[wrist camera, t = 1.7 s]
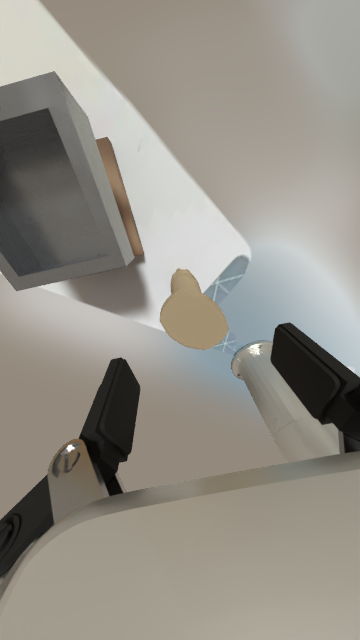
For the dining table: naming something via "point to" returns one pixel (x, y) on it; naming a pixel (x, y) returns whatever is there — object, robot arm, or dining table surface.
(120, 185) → the stand
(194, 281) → the handle
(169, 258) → the dining table surface
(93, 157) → the grey open box
